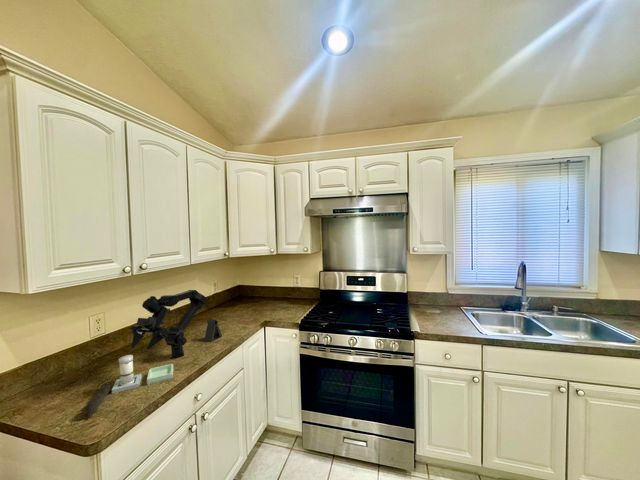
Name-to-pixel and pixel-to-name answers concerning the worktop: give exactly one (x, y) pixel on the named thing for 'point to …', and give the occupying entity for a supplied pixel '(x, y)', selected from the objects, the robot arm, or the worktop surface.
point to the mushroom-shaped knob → (126, 370)
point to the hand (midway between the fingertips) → (139, 348)
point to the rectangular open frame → (126, 387)
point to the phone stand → (212, 331)
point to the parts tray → (160, 374)
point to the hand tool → (98, 399)
